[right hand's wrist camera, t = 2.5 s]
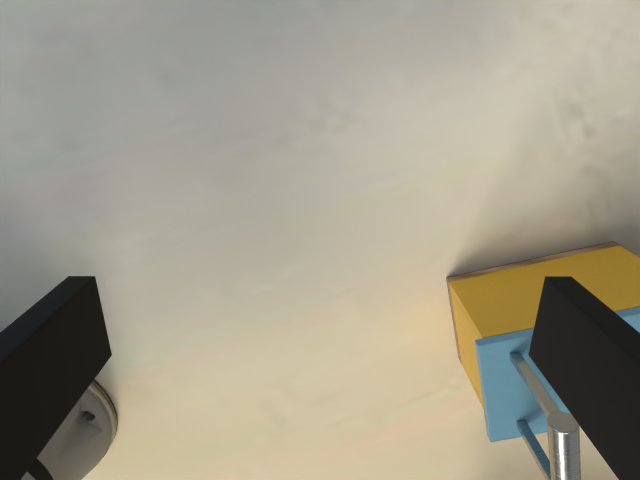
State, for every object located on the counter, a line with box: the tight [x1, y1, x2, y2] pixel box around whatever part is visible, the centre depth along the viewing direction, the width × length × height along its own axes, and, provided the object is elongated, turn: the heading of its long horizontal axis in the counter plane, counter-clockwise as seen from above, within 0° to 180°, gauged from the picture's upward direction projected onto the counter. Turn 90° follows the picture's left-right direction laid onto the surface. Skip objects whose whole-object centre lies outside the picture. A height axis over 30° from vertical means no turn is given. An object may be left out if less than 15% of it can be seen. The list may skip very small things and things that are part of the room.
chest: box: [446, 242, 640, 409], centre depth 38 cm, size 16×10×10 cm, turn 104°
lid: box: [475, 307, 640, 480], centre depth 29 cm, size 16×10×8 cm, turn 104°
